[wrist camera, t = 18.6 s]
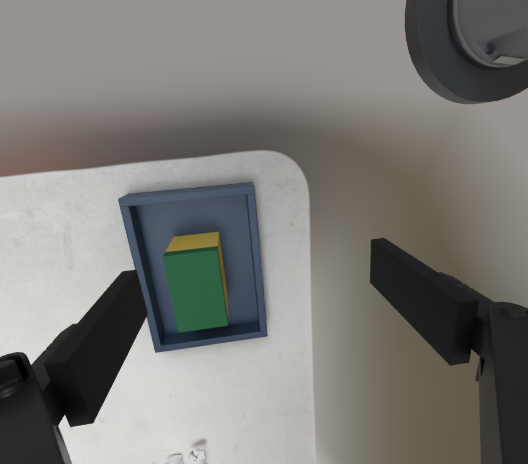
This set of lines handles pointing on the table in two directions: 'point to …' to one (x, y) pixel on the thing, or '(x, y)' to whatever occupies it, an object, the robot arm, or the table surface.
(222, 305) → the sponge
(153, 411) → the table surface
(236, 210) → the tray
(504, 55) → the robot arm
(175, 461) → the miniature set
